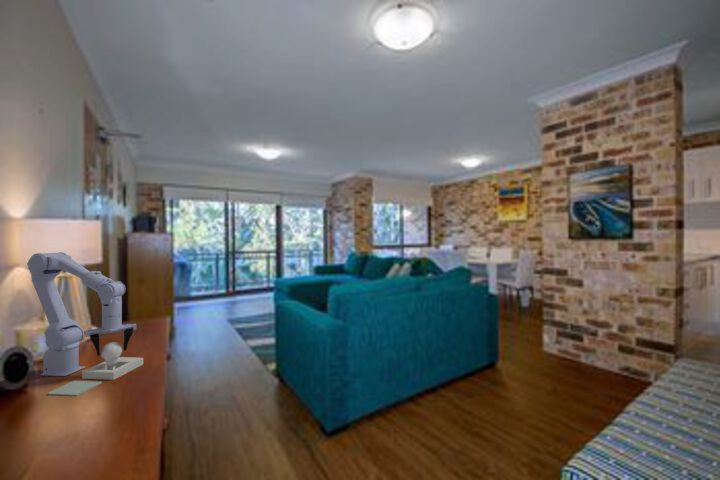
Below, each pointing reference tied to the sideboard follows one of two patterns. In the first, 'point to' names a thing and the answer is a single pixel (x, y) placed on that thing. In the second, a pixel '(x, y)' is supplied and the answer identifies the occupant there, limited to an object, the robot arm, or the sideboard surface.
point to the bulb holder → (121, 368)
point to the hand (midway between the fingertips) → (112, 352)
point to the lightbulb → (111, 354)
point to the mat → (74, 388)
